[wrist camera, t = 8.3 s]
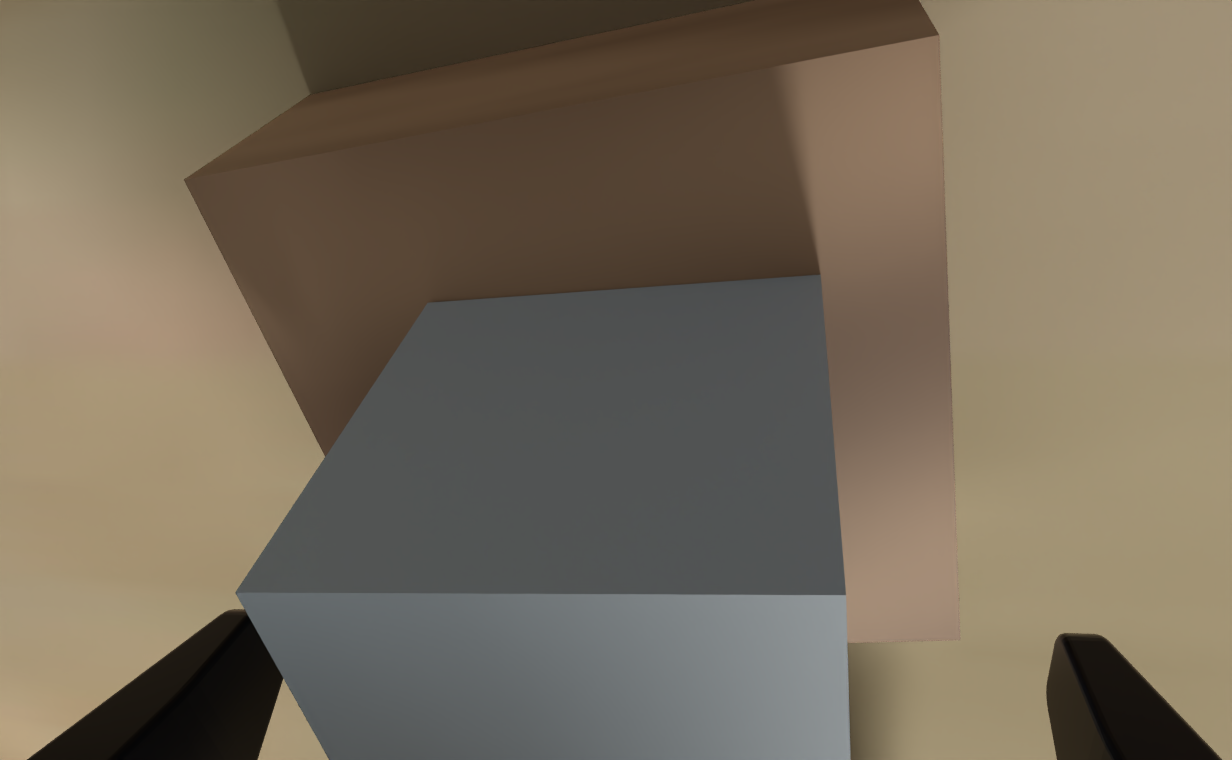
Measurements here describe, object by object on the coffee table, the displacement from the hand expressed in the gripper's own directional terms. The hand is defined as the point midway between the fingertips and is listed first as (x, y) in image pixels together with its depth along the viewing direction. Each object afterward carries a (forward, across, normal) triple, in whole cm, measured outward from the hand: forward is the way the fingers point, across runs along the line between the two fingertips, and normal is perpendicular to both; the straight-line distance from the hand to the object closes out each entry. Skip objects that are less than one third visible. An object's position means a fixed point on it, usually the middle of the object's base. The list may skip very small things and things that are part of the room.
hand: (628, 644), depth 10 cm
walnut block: (+7, +1, -1) cm, 7 cm away
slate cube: (+3, 0, 0) cm, 3 cm away
